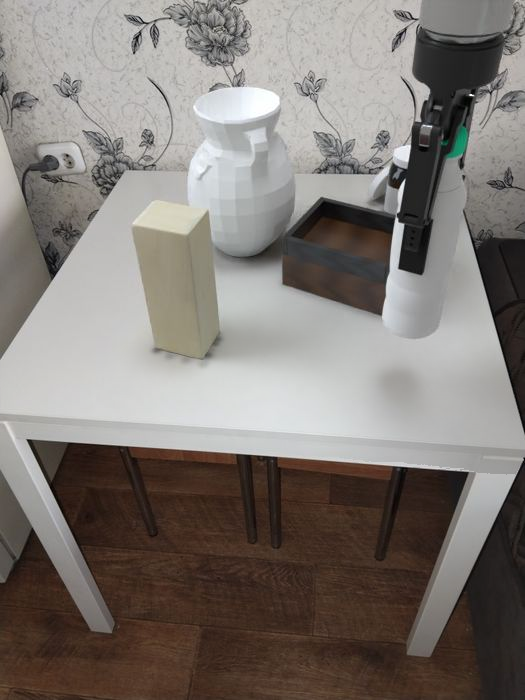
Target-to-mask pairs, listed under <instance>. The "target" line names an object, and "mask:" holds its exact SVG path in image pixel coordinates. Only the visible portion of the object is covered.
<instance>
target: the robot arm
mask: <svg viewBox="0 0 525 700" xmlns="http://www.w3.org/2000/svg"><path fill="white" fill-rule="evenodd" d="M515 1H516V0H421V2H420V8H419V9H420V10H419V16H418V24H419V25H420V27H421V28H422V29H420V30H419V31H418V32H417V34H416V36H415V43H414V49H413V58H412V67H411V74H412V76H413V78H414V79H415V80H416V81H417V82H419V83H421V84H424V85H425V86H426V87H427V88H428V89H429V94H428V98H427V99H424V100H423V102H422V106H421V110H420V114H419V118H420V121H416V120H415V121H414V123H413V125H412V126H411V138H410V145H411V149H410V155H409V161H408V167H407V172H406V178H405V184H404V190H403V195H402V201H401V207H400V212H398V213H397V218H398V222H399V223H402V224H404V230H403V237H402V244H401V251H400V257H399V264H398V269H399V270H403V271H407V272H410V273H414V274H418V275H421V276H422V274H423V273H424V269H425V263H426V258H427V253H428V247H429V242H430V236H431V231H432V225H433V219H431V215H432V211H433V207H434V203H435V200H436V196H437V192H438V188H439V184H440V180H441V177H442V173H443V169H444V165H445V161H446V157H447V155H448V154H451V153H452V152H453V151H454V148H455V144H456V140H457V136H458V133H459V129H460V126H462V125H463V126H464V127H465V128H466V130H467V133H468V137H467V143H466V147H465V150H464V152H463V155H462V157H461V158H460V159H458V166H459V168H460V170H461V172H462V171H463V169H465V165H466V163H465V160H466V156H467V151H468V144H469V140H470V133H471V129H472V123H473V116H474V112H475V106H476V102H477V97H478V93H479V89H481V88H483V87H486V86H488V85H490V84H491V83H493V82H494V81H495V80H496V79H497V77H498V73H499V70H500V64H501V60H502V58H503V57H502V56H503V51H504V47H505V43H506V37H505V35H504V33H503V32H504V31H505V30H506V29H508V28H509V27H510V25H511V19H512V14H513V11H514V6H515ZM448 139H449V140H448ZM446 140H448V143H447V145H441V142H442V141H446ZM462 179H463V182H464V183H465V181H466V180H465V179H466V174H462Z"/></svg>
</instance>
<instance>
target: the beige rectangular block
mask: <svg viewBox="0 0 525 700" xmlns="http://www.w3.org/2000/svg"><path fill="white" fill-rule="evenodd" d="M130 227H131V234H132V238H133V244H134V249H135V252H136V253H135V254H136V259H137V263H138V267H139V273H140V274H139V275H140V278H141V284H142V289H143V294H144V298H145V303H146V304H145V305H146V308H147V313H148V318H149V324H150V328H151V329H150V330H151V334H152V338H153V343H154V344H153V345H154V347H155V348H156V349H159V350H161V351H166V352H169V353H174V354H178V355H182V356H186V357H191V358H194V359H199V360H203V359H204V358H205V357H206V355H207V354H208V352H209V350H210V349H211V347H212V345H214V342H215V341H216V339H217V337H218V335H219V334H220V332H221V329H220V315H219V303H218V295H217V285H216V274H215V273H216V272H215V264H214V251H213V244H212V239H211V228H210V218H209V210H208V209H205V208H200V207H194V206H189V204H188V205H187V204H183V203H177V202H170V201H165V200H159V199H154V200H152V202H151V203H150V204H149V205H148V206H147V207H146V208H145V209H144V210H143V211H142V212H141V213H140V214H139V215H138V216H137V217H136V218H135V219H134V221H133V222H132V223H131V225H130Z"/></svg>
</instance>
